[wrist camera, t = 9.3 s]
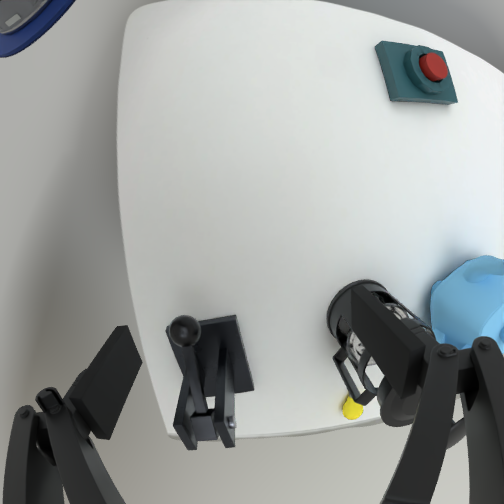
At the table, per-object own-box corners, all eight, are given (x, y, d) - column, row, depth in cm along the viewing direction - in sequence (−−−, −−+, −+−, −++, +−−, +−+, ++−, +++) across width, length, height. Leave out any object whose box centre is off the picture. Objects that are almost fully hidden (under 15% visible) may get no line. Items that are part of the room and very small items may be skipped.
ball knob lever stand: (167, 325, 34) (137, 399, 21) (235, 314, 34) (236, 390, 21) (193, 393, 37) (182, 467, 24) (254, 385, 37) (261, 462, 24)
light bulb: (342, 413, 40) (342, 424, 37) (342, 384, 40) (343, 394, 37) (361, 411, 39) (362, 422, 36) (363, 382, 39) (365, 392, 36)
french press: (360, 261, 33) (491, 368, 11) (403, 296, 35) (515, 393, 13) (304, 334, 35) (365, 486, 13) (352, 359, 37) (422, 484, 15)
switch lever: (172, 317, 28) (161, 317, 25) (201, 313, 28) (193, 312, 25) (197, 431, 25) (190, 443, 22) (226, 429, 25) (221, 441, 22)
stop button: (415, 54, 23) (422, 50, 21) (435, 58, 23) (442, 54, 21) (423, 80, 24) (431, 76, 22) (442, 82, 24) (451, 80, 22)
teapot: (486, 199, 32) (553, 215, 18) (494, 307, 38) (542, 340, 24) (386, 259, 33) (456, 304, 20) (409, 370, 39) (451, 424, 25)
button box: (374, 46, 26) (388, 35, 22) (434, 55, 26) (450, 48, 22) (390, 100, 28) (406, 94, 24) (448, 104, 28) (466, 100, 24)
